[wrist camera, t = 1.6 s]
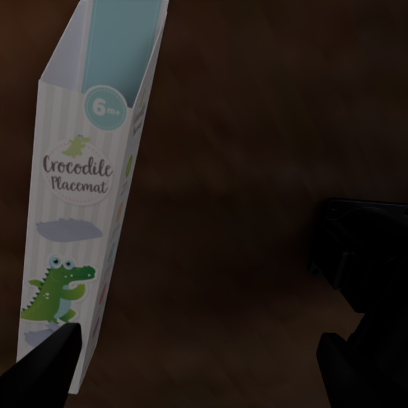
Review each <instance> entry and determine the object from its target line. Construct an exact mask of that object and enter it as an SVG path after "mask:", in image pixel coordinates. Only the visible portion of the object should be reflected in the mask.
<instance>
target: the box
mask: <svg viewBox="0 0 408 408" xmlns="http://www.w3.org/2000/svg"><path fill="white" fill-rule="evenodd" d="M168 2H169V0H80V2H79V4H78V5H77V7H76V9H75V11H74V13H73V15H72V17H71V19H70V21H69V23H68V25H67V27H66V29H65V31H64V33H63V35H62V37H61V39H60V41H59V43H58V45H57V47H56V49H55V51H54V53H53V55H52V57H51V59H50V61H49V62H48V64H47V66H46V68H45V70H44V72H43V74H42V76H41V78H40V80H39V85H38V97H37V110H36V123H35V135H34V148H33V160H32V173H31V186H30V198H29V211H28V224H27V236H26V249H25V261H24V274H23V287H22V299H21V312H20V325H19V337H18V350H17V362H18V361H19V360H21V359H22V358H23V357H24V356H25V355H27V354H28V353H29V352H30V351H32V350H33V349H34V348H35V347H36V346H38V345H39V344H40V343H41V342H43V341H44V340H45V339H46V338H47V337H49V336H50V335H51V334H52V333H54V332H55V331H56V330H57V329H58V328H60V327H61V326H62V325H63V324H65V323H67V322H75V323H80V325H81V331H82V350H81V353H80V357H79V360H78V363H77V366H76V370H75V373H74V376H73V379H72V383H71V386H70V389H69V392H68V393H72V394H77V393H78V391H79V388H80V386H81V383H82V381H83V378H84V376H85V373H86V371H87V368H88V365H89V363H90V360H91V358H92V355H93V353H94V350H95V348H96V345H97V341H98V336H99V331H100V327H101V322H102V317H103V312H104V308H105V303H106V298H107V294H108V289H109V284H110V279H111V275H112V270H113V265H114V261H115V256H116V251H117V246H118V242H119V237H120V232H121V228H122V223H123V218H124V214H125V209H126V204H127V199H128V195H129V190H130V185H131V181H132V176H133V171H134V166H135V162H136V157H137V152H138V148H139V143H140V138H141V133H142V129H143V124H144V119H145V115H146V110H147V105H148V101H149V96H150V91H151V86H152V82H153V77H154V72H155V68H156V63H157V58H158V53H159V49H160V44H161V39H162V35H163V30H164V25H165V20H166V16H167V12H166V11H167V7H168ZM17 362H16V363H17Z"/></svg>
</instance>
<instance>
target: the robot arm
mask: <svg viewBox="0 0 408 408" xmlns="http://www.w3.org/2000/svg"><path fill="white" fill-rule="evenodd" d="M332 203H335V205H334V206H333V207H331V204H332ZM406 209H407V211H406V212H405V213H404V211H405V210H406ZM309 255H310V260H309V264H308V268H307V270H308V272H309V274H310V275H311V276H314V277H325V278H326V279H327V280H328V282H329V283H330V285H331V286H332V287H333V288H334V289H335V290H339V291H340V292H341V293H342V295H343V296H344V297H345V299H346V300H347V301H348V303H349V304H350V306H351V307H352V308H353V310H354V311H355V312H357V313H365V315H364V317H363V318H362V320H361V322H360V323H359V325H358V327H357V328H356V330H355V332H354V333H352V334H351V335H350V336H349V338H348V340H347V342H346V341H345V340H344V339H343V338H342V337H340V336H339V335H338V334H336V333H323V334H322V336H321V339H320V342H319V345H318V348H317V352H316V356H317V361H318V364H319V367H320V371H321V374H322V378H323V381H324V385H325V388H326V392H327V395H328V399H329V402H330V405H331V408H408V204H405V203H393V202H381V201H369V200H357V199H345V198H329V199H328V200H327V201H326V202H325V205H324V209H323V212H322V216H321V220H320V223H319V225H318V226H317V227H316V231H315V234H314V238H313V242H312V245H311V249H310V253H309ZM316 268H317V269H316ZM313 269H316V270H315V271H313ZM81 350H82V331H81V325H80V323H75V322H67V323H65V324H63V325H62V326H61V327H60V328H58V329H57V330H56V331H55V332H54V333H52V334H51V335H50V336H49V337H47V338H46V339H45V340H44V341H43V342H41V343H40V344H39V345H38V346H36V347H35V348H34V349H33V350H32V351H30V352H29V353H28V354H27V355H25V356H24V357H23V358H22V359H21V360H19V361H18V362H17V363H16V364H14V365H13V366H12V367H11V368H9V369H8V370H7V371H6V372H5V373H3V374H2V375H1V376H0V408H63V407H64V405H65V402H66V399H67V396H68V392H69V389H70V386H71V383H72V379H73V376H74V373H75V370H76V366H77V363H78V360H79V357H80V353H81Z"/></svg>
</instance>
